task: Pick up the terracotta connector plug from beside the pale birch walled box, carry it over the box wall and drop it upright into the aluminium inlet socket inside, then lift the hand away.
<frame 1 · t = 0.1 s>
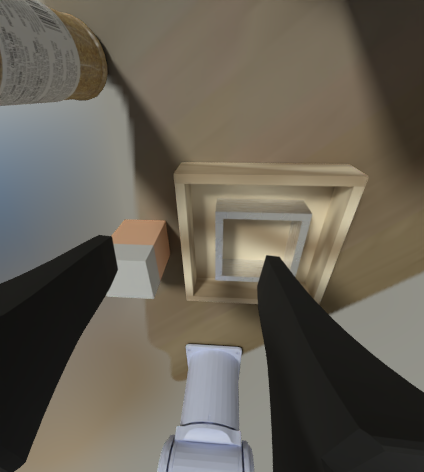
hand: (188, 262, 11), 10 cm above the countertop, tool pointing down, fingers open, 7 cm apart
walled box: (255, 232, 21), on the countertop
inlet socket: (256, 242, 20), in the walled box
sprinkles bottle: (78, 61, 15), on the countertop
connector plug: (148, 237, 22), on the countertop
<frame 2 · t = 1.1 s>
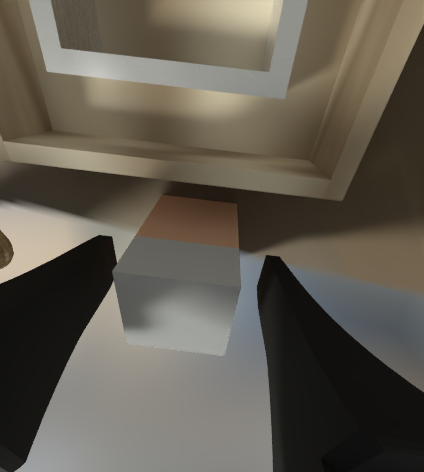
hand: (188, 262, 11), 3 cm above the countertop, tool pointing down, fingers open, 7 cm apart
connector plug: (197, 230, 13), on the countertop
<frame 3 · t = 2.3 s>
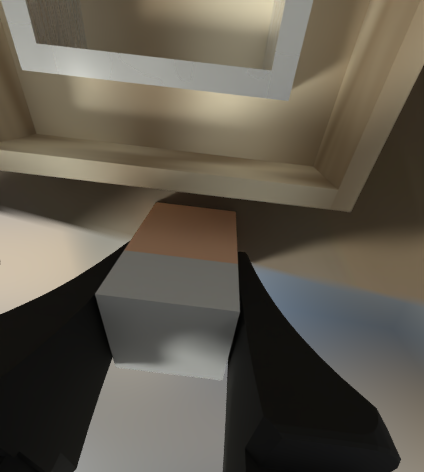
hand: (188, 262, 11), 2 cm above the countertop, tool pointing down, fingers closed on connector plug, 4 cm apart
connector plug: (193, 239, 12), on the countertop, touching gripper
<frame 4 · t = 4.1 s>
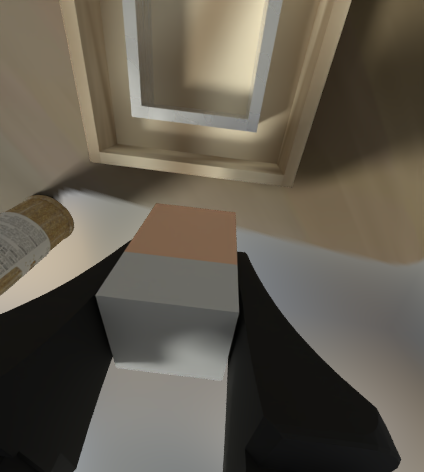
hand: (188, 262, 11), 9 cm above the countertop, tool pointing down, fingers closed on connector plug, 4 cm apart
walled box: (204, 51, 13), on the countertop
inlet socket: (201, 46, 12), in the walled box
sprinkles bottle: (52, 214, 21), on the countertop
connector plug: (193, 240, 12), point 7 cm above the countertop, touching gripper
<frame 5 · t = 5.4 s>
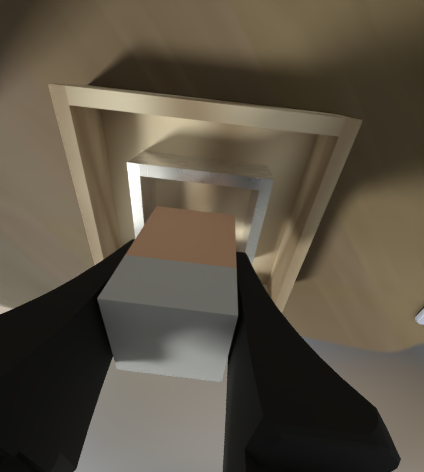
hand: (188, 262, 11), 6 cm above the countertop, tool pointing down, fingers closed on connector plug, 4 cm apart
walled box: (201, 210, 15), on the countertop
inlet socket: (198, 222, 14), in the walled box
connector plug: (193, 242, 12), point 4 cm above the countertop, touching gripper
when the fingers open (4 cm above the countertop, at t = 6.2 s): connector plug drops 1 cm, resting on walled box.
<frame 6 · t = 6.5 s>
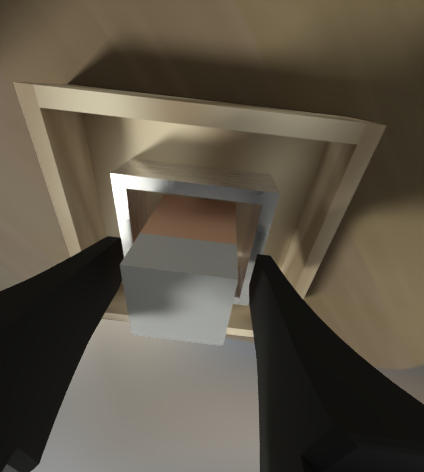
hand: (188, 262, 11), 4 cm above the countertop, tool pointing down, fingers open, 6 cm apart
walled box: (198, 222, 14), on the countertop
inlet socket: (194, 237, 12), in the walled box
connector plug: (197, 229, 14), resting on walled box
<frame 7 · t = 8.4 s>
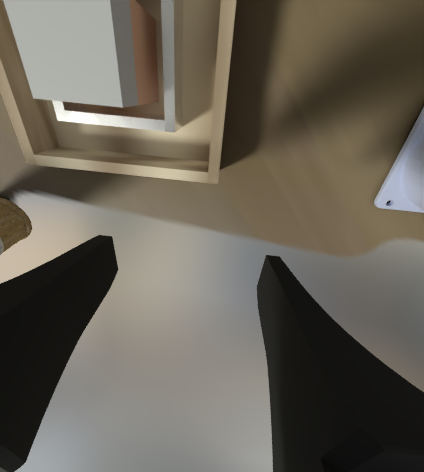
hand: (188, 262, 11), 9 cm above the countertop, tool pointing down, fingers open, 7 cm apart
walled box: (126, 57, 14), on the countertop
inlet socket: (115, 53, 13), in the walled box
sprinkles bottle: (11, 216, 21), on the countertop
connector plug: (125, 60, 14), resting on walled box
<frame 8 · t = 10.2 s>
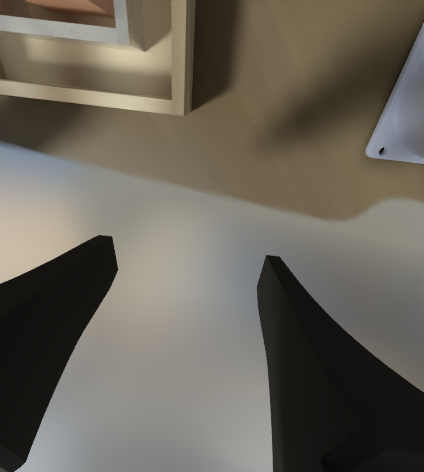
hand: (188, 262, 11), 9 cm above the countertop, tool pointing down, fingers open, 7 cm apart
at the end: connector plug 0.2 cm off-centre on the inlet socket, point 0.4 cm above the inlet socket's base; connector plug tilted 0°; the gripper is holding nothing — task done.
